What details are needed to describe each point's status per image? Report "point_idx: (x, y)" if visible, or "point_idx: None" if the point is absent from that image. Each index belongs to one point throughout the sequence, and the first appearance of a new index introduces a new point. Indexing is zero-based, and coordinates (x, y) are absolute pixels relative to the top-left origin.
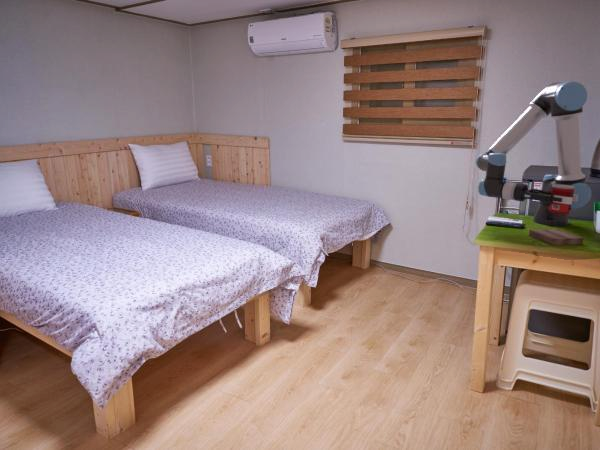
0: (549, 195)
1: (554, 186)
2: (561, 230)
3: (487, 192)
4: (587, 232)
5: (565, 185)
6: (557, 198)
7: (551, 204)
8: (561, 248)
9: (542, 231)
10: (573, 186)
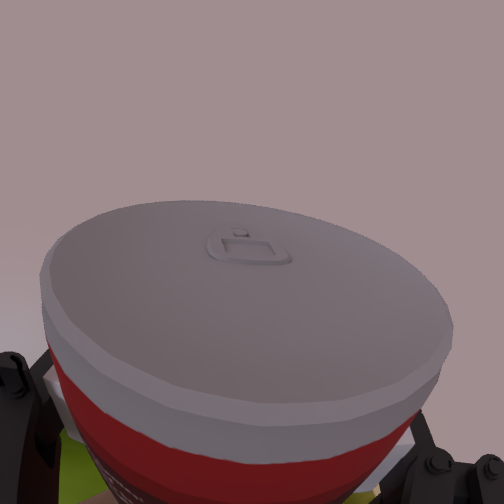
0: (450, 489)
1: (445, 355)
2: (97, 501)
3: None
4: None
5: (107, 231)
6: (418, 416)
7: None
8: (352, 494)
9: None
10: (202, 202)
